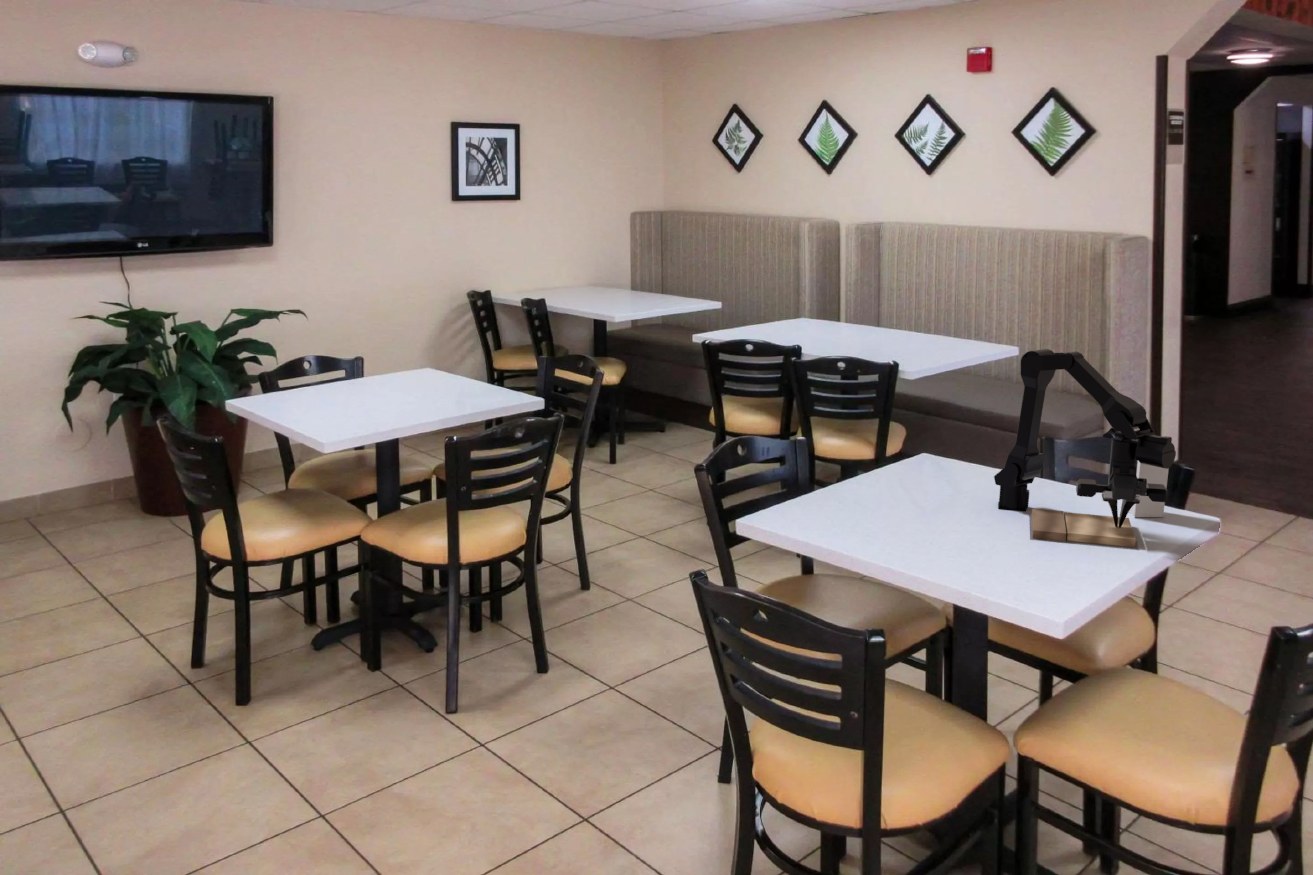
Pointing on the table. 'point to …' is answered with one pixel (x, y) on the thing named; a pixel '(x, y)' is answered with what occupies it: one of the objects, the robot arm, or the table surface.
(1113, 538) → the oak plank
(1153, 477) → the milk carton
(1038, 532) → the walnut plank
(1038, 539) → the underlay mat
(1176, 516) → the table surface
